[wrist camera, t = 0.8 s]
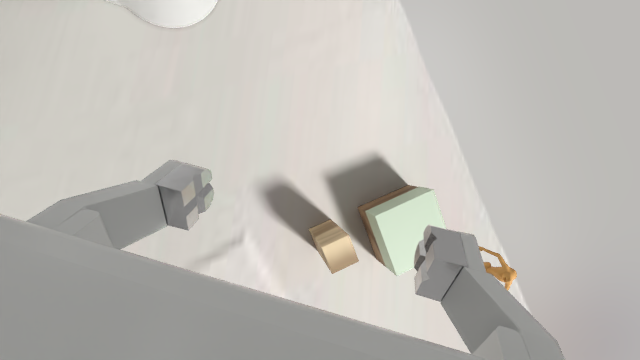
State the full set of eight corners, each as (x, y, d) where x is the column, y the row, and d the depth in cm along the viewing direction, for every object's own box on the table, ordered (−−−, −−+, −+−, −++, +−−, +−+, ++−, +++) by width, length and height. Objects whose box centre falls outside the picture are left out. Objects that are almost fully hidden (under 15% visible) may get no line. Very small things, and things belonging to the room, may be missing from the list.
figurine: (433, 240, 53) (483, 264, 41) (461, 229, 54) (517, 250, 43) (444, 281, 54) (495, 316, 43) (471, 270, 55) (528, 300, 44)
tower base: (356, 207, 50) (365, 211, 46) (407, 184, 52) (419, 187, 48) (375, 258, 51) (385, 266, 48) (424, 235, 53) (437, 241, 49)
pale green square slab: (365, 211, 46) (375, 216, 42) (419, 186, 48) (433, 189, 44) (385, 266, 48) (397, 276, 44) (437, 240, 49) (452, 248, 45)
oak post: (308, 229, 48) (321, 247, 38) (330, 219, 49) (348, 235, 39) (317, 250, 49) (332, 273, 39) (338, 240, 49) (358, 261, 40)
